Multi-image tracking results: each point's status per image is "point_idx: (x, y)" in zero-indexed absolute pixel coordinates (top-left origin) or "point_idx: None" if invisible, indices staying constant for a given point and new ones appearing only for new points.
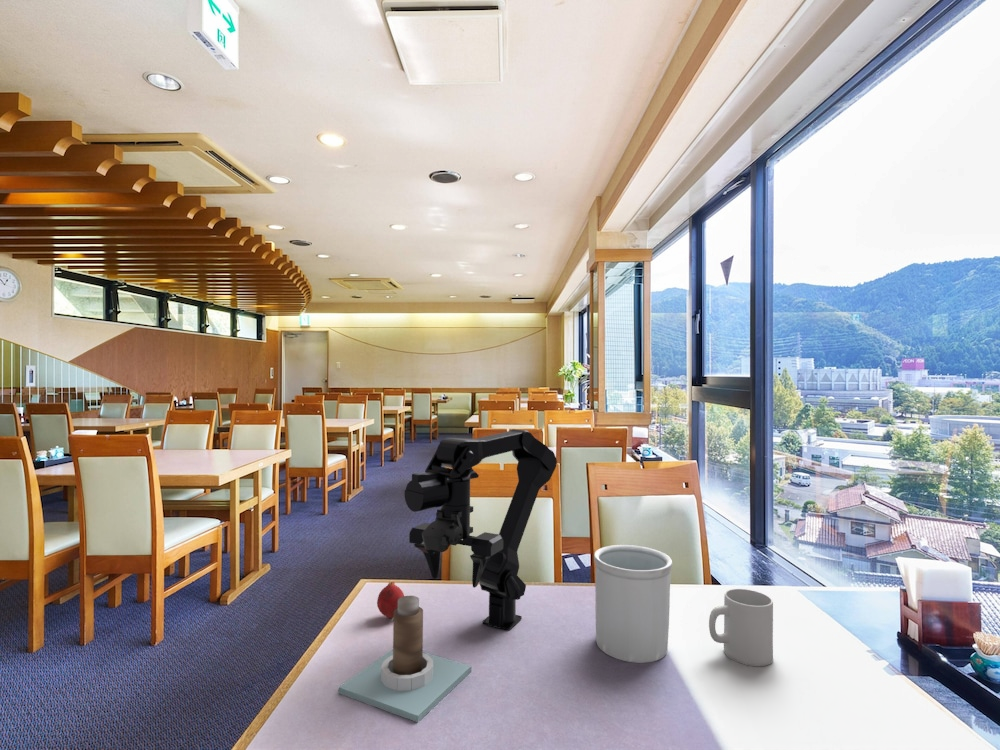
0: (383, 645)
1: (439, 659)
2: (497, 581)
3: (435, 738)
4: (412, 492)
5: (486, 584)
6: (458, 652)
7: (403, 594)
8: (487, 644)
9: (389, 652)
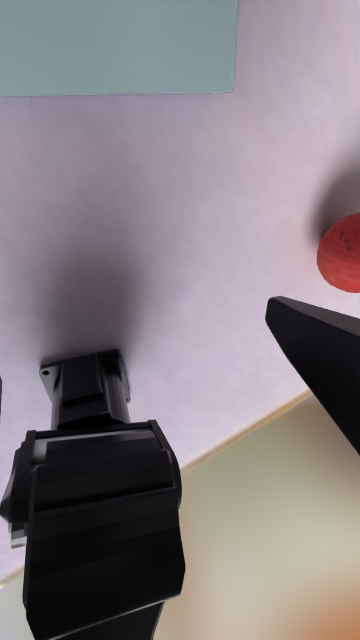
0: (281, 91)
1: (40, 69)
2: (37, 472)
3: None
4: None
5: (112, 438)
6: (58, 195)
7: (342, 285)
8: (27, 285)
9: (233, 7)
